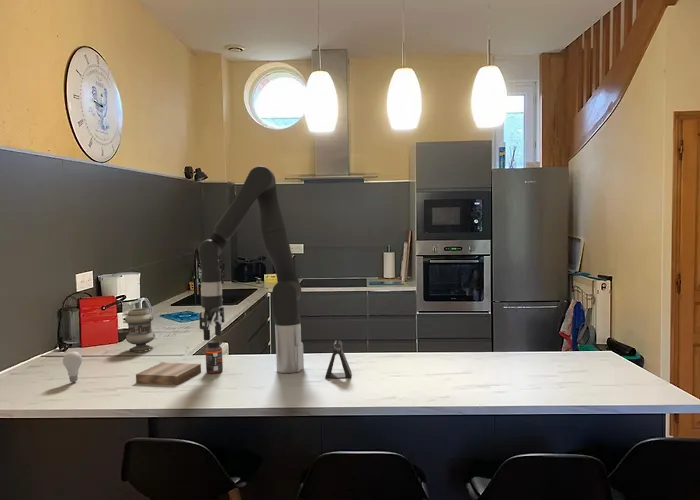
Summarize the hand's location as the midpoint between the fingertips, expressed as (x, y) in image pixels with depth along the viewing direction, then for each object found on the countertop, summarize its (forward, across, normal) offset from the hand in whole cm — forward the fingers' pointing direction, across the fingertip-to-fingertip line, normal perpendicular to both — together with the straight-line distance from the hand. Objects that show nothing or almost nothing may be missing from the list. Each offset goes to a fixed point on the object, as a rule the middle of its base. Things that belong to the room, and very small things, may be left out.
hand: (212, 337), depth 201 cm
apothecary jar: (+14, +29, +51) cm, 60 cm away
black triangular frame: (+12, +1, -47) cm, 49 cm away
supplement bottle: (+13, 0, 0) cm, 13 cm away
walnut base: (+13, -9, +12) cm, 20 cm away
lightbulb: (+14, -20, +43) cm, 50 cm away
